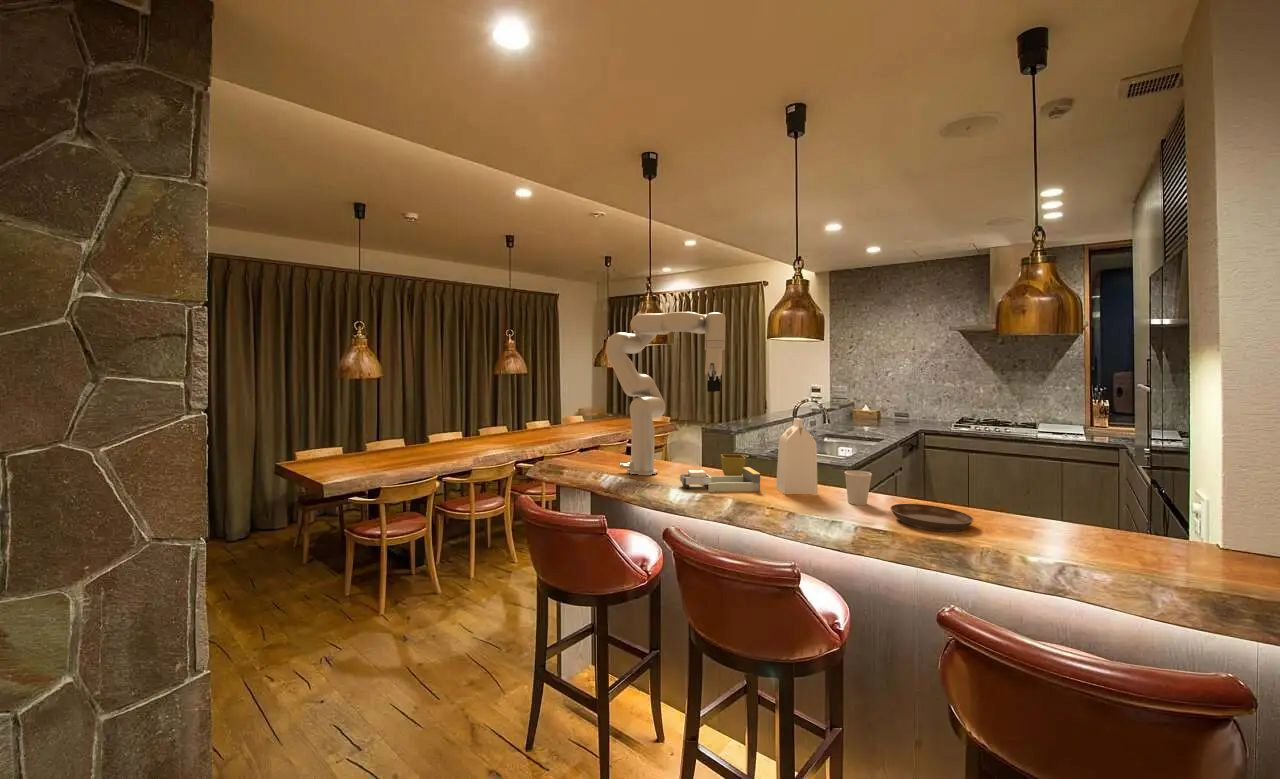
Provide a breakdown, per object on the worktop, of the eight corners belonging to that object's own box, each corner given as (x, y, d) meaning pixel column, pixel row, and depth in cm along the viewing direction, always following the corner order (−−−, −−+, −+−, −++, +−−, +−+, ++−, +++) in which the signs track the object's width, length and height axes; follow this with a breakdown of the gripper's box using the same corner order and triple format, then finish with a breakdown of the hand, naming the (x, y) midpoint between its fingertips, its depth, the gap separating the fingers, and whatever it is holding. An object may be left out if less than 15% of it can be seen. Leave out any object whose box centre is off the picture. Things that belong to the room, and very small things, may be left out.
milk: (817, 495, 182) (819, 420, 182) (784, 494, 183) (786, 419, 182) (807, 488, 194) (809, 417, 194) (776, 487, 195) (777, 417, 194)
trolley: (683, 489, 187) (683, 473, 187) (680, 485, 194) (680, 469, 194) (711, 489, 188) (712, 473, 188) (707, 485, 195) (707, 469, 195)
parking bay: (708, 492, 184) (709, 474, 184) (699, 483, 199) (700, 466, 199) (760, 492, 186) (761, 474, 185) (747, 483, 201) (748, 466, 201)
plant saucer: (979, 523, 151) (980, 512, 151) (964, 539, 135) (965, 526, 135) (901, 510, 164) (902, 500, 164) (880, 523, 149) (880, 511, 149)
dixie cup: (854, 506, 167) (855, 475, 166) (838, 500, 175) (839, 470, 175) (877, 505, 169) (878, 474, 169) (859, 499, 177) (860, 470, 177)
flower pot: (745, 480, 205) (746, 457, 205) (722, 480, 206) (723, 457, 205) (741, 476, 214) (742, 454, 214) (719, 476, 214) (720, 454, 214)
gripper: (709, 347, 208) (708, 390, 209) (700, 344, 192) (699, 391, 192) (728, 347, 206) (727, 391, 206) (721, 344, 189) (720, 392, 190)
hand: (714, 391), depth 199 cm, fingers open, 9 cm apart
